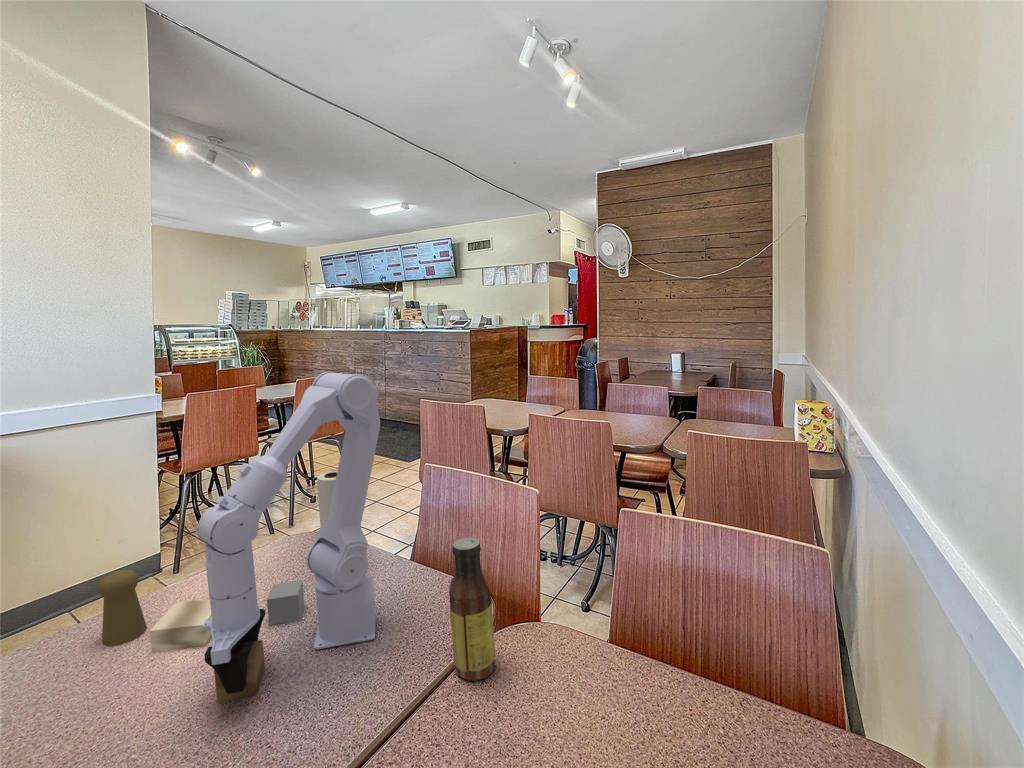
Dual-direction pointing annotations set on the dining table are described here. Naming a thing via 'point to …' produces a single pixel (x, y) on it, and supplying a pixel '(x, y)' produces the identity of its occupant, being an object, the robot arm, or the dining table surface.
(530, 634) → the dining table surface
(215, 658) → the robot arm
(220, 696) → the walnut cube
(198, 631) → the sticky note pad
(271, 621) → the slate cube
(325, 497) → the paper towel roll
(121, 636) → the olive round-headed peg
